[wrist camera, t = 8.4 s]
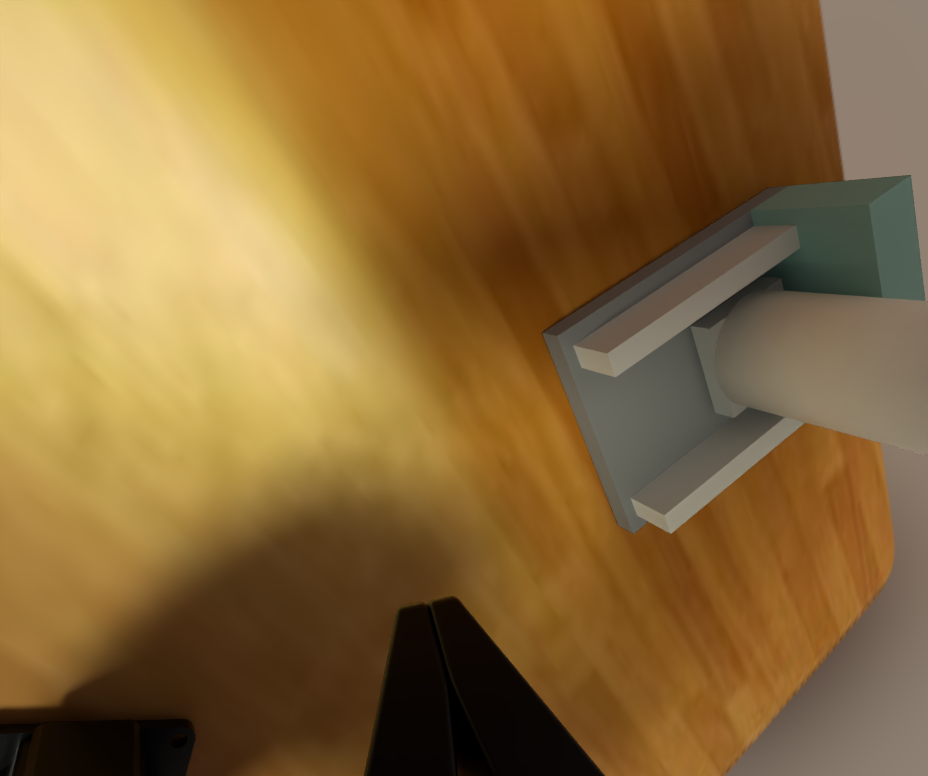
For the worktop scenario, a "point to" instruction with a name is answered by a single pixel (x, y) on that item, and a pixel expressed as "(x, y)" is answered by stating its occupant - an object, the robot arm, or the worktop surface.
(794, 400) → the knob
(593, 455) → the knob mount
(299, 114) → the worktop surface
